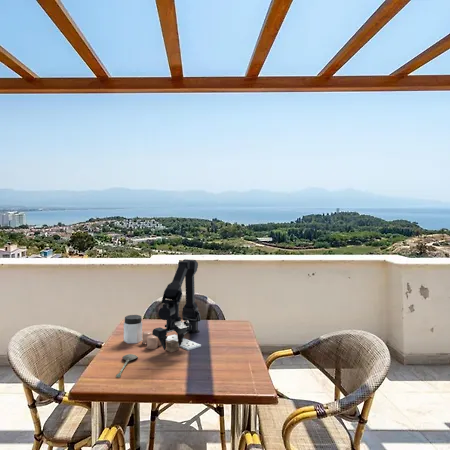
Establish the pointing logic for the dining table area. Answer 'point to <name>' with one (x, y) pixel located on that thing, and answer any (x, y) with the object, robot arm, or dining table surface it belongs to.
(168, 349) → the brown cube
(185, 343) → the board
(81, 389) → the dining table surface
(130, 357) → the soupspoon
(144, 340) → the peach rounded piece
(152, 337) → the peach rounded blob
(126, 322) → the jar
